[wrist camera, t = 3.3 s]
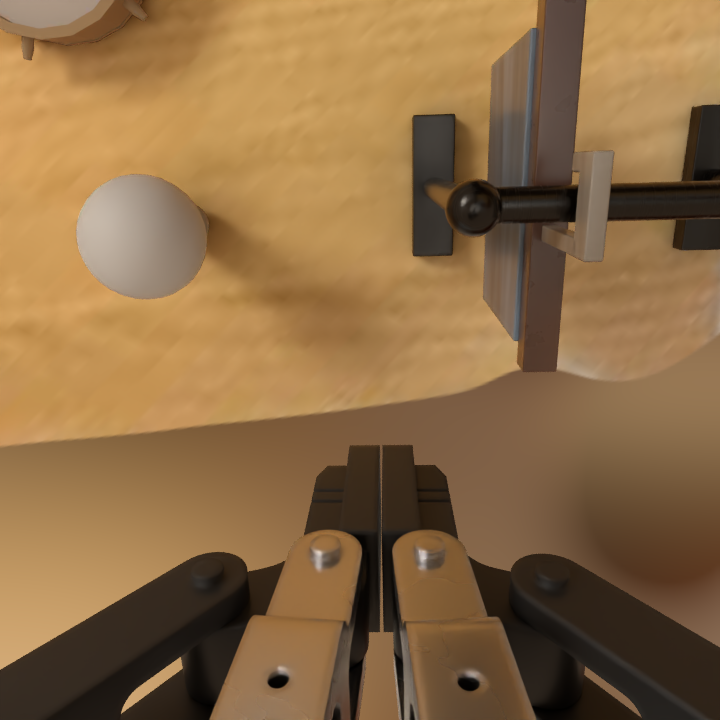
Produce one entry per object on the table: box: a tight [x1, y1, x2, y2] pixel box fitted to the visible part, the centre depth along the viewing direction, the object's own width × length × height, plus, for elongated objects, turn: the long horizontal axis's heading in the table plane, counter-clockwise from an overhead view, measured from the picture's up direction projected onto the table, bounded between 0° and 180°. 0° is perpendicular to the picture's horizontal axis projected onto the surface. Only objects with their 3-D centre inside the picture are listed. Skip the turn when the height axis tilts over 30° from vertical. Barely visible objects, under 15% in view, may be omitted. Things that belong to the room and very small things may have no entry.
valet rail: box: [412, 105, 720, 256], centre depth 26 cm, size 18×8×19 cm, turn 92°
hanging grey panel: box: [483, 0, 614, 372], centre depth 24 cm, size 2×14×15 cm, turn 2°
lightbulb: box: [76, 174, 209, 299], centre depth 32 cm, size 6×6×11 cm
